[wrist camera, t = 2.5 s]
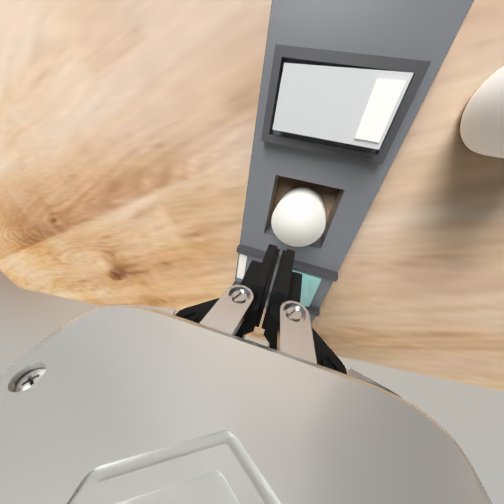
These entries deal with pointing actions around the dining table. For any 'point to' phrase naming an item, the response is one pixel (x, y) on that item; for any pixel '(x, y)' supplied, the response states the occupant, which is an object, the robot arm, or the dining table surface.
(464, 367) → the dining table surface
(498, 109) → the can
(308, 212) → the push button
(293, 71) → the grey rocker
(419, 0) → the control panel
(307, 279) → the teal slide switch
